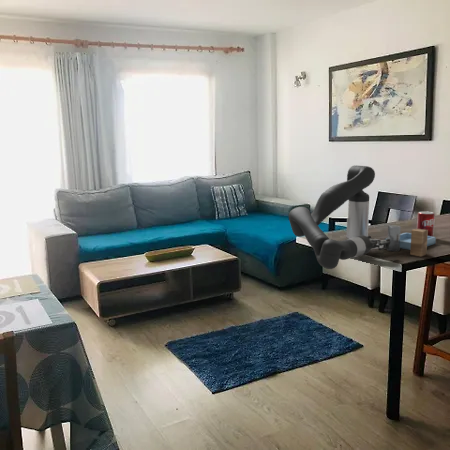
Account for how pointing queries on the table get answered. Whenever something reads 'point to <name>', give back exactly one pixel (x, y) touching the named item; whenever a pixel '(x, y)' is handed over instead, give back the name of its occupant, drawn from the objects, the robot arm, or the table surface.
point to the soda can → (426, 221)
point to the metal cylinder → (394, 237)
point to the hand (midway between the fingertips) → (379, 240)
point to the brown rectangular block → (419, 242)
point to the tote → (406, 240)
